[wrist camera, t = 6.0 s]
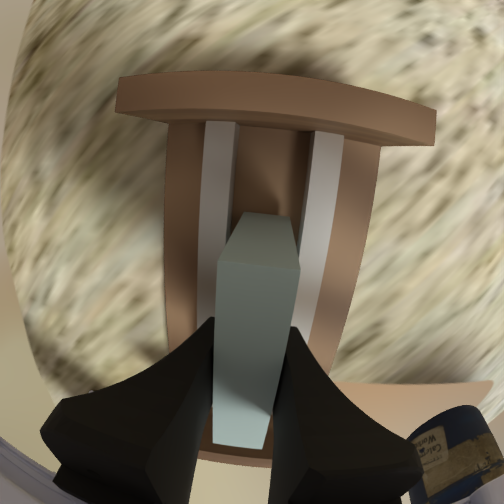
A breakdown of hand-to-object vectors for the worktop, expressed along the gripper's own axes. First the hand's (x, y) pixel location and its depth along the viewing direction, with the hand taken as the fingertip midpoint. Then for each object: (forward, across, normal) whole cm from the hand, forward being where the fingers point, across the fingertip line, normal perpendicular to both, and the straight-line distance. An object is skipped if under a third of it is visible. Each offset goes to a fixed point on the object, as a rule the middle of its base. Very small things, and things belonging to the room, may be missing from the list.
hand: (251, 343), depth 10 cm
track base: (+5, 0, 0) cm, 5 cm away
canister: (+6, -20, +15) cm, 26 cm away
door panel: (+4, 0, 0) cm, 4 cm away
